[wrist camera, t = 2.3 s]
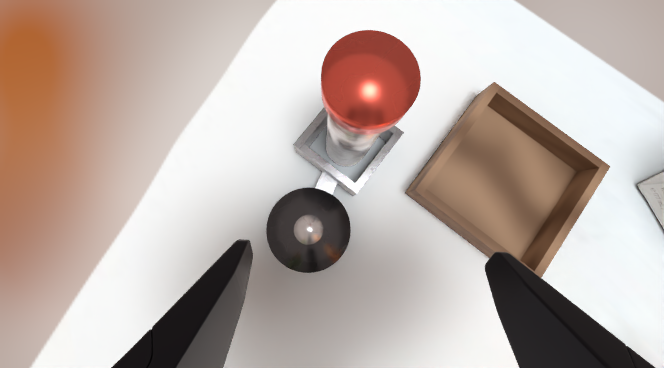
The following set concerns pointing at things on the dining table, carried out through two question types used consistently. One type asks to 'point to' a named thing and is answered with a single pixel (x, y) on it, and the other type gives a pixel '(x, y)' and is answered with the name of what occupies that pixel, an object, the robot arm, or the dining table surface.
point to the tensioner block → (317, 208)
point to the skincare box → (655, 194)
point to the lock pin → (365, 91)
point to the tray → (508, 180)
